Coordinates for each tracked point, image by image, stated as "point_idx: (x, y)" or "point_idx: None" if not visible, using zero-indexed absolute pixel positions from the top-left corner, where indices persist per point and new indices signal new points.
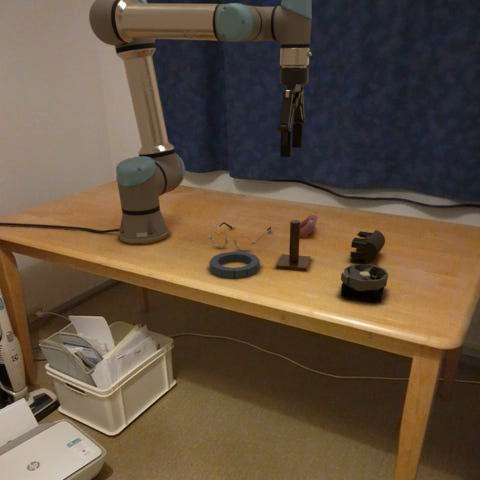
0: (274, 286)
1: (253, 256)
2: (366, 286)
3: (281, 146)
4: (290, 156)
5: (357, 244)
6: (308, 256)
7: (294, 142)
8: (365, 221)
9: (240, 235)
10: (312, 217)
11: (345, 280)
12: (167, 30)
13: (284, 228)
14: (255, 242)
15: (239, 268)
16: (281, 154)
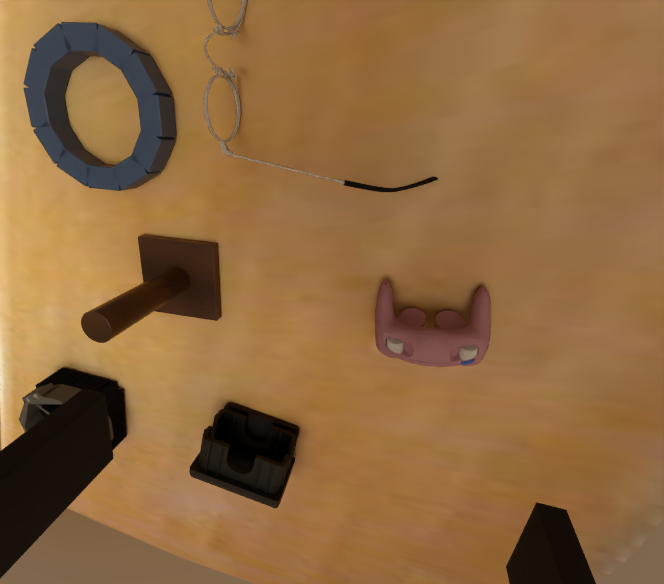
0: (56, 238)
1: (137, 167)
2: (34, 421)
3: (3, 459)
4: (108, 459)
5: (201, 444)
6: (215, 315)
7: (544, 573)
8: (556, 482)
9: (206, 95)
10: (413, 352)
11: (29, 393)
12: None
13: (485, 230)
14: (231, 155)
15: (49, 141)
16: (69, 409)
